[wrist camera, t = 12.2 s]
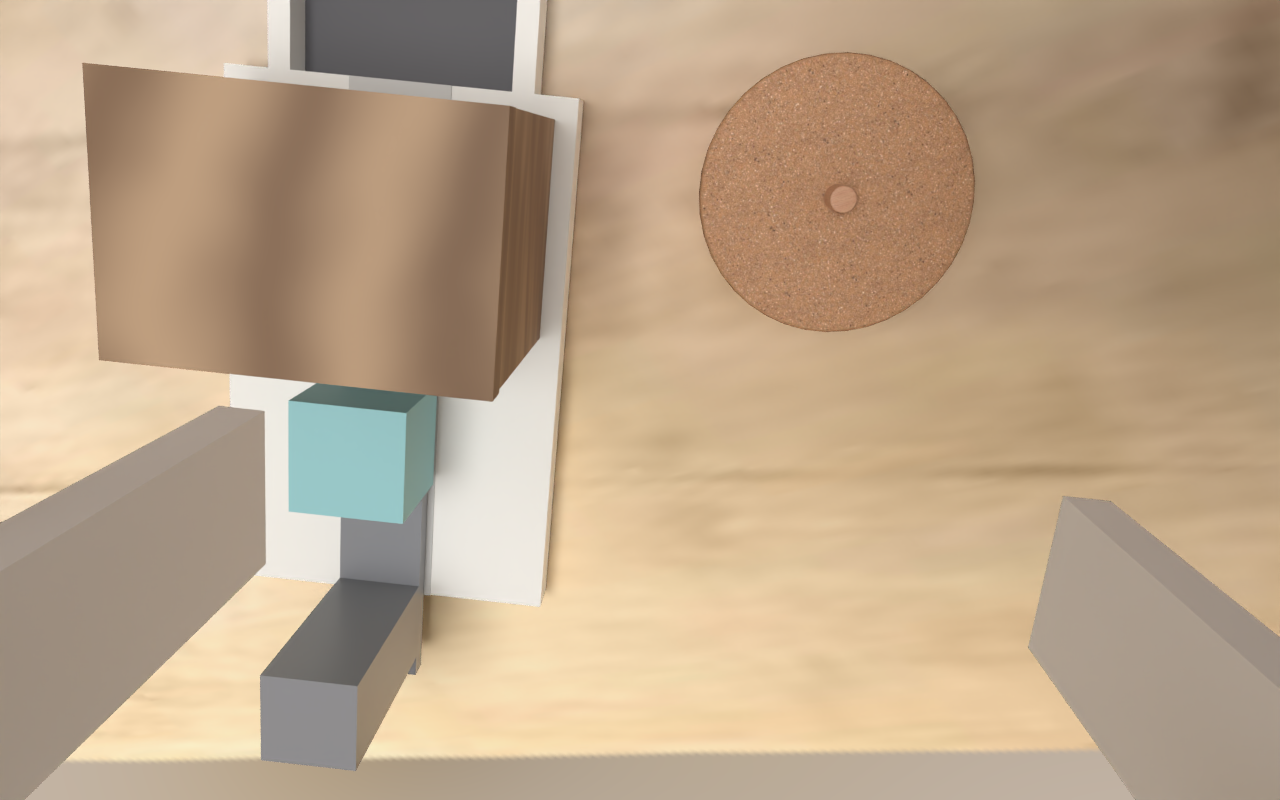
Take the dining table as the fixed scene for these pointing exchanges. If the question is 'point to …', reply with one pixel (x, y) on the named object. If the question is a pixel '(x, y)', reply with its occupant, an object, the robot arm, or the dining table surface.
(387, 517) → the block
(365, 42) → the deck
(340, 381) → the tunnel
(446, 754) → the dining table surface
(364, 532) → the grey l-shaped piece
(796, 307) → the lidded jar
